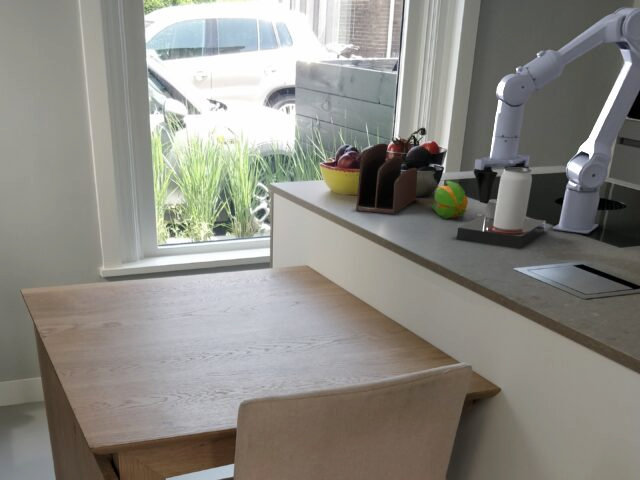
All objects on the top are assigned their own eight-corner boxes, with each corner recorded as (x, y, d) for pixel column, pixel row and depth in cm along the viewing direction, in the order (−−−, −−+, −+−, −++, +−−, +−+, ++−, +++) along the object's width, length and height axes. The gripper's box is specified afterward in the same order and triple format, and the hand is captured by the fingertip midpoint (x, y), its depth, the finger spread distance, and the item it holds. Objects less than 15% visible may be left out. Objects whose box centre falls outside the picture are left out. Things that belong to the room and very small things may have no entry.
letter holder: (355, 211, 206) (359, 150, 199) (379, 196, 222) (384, 139, 214) (394, 215, 203) (399, 153, 195) (416, 200, 218) (422, 142, 211)
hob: (481, 222, 197) (483, 211, 195) (544, 231, 190) (547, 219, 188) (451, 238, 183) (453, 226, 182) (518, 248, 176) (520, 235, 175)
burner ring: (494, 222, 186) (494, 221, 186) (534, 227, 182) (534, 227, 182) (480, 230, 180) (480, 229, 179) (521, 236, 175) (521, 235, 175)
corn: (445, 188, 192) (426, 172, 209) (438, 222, 196) (421, 204, 213) (476, 190, 193) (455, 175, 210) (469, 224, 197) (449, 206, 214)
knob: (481, 216, 191) (483, 199, 189) (492, 214, 193) (494, 197, 191) (495, 219, 188) (498, 202, 186) (506, 217, 190) (509, 200, 188)
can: (520, 225, 183) (530, 167, 177) (525, 232, 178) (536, 172, 171) (490, 224, 184) (499, 166, 177) (495, 231, 178) (504, 171, 172)
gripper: (494, 140, 175) (485, 207, 183) (543, 136, 182) (532, 201, 189) (471, 136, 181) (463, 201, 188) (520, 132, 187) (510, 195, 194)
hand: (496, 201), depth 189 cm, fingers open, 7 cm apart
